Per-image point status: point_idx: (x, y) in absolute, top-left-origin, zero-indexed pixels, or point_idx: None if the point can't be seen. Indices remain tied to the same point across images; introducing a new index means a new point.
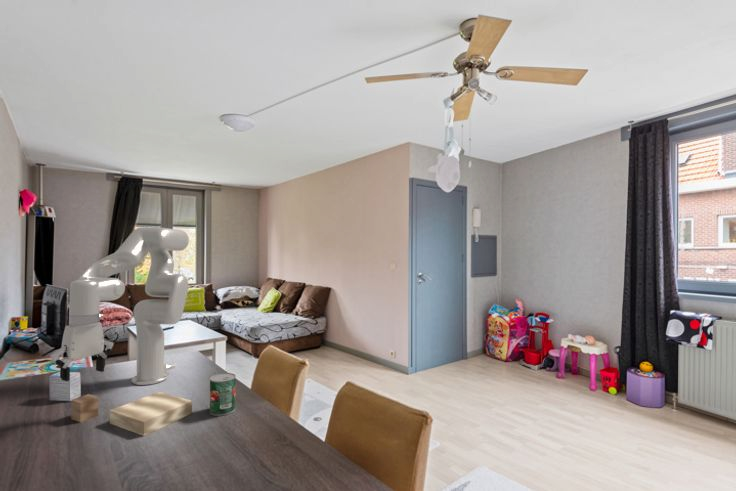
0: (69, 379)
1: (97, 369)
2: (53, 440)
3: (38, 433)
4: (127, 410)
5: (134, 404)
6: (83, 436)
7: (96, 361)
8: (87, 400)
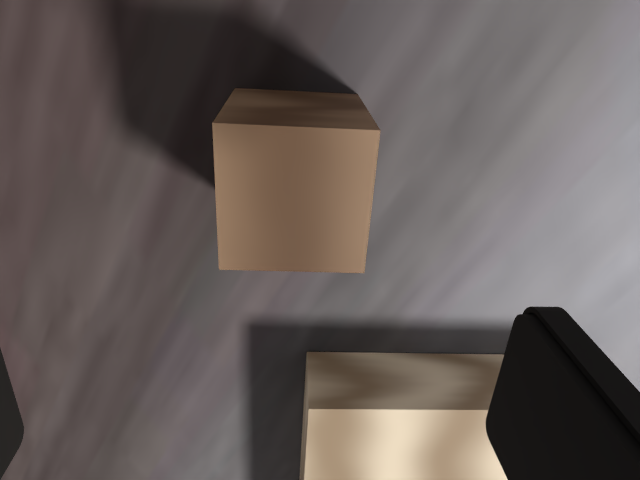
0: (18, 442)
1: (515, 362)
2: (48, 285)
3: (12, 115)
4: (351, 475)
5: (428, 445)
6: (161, 364)
7: (613, 456)
8: (278, 266)
